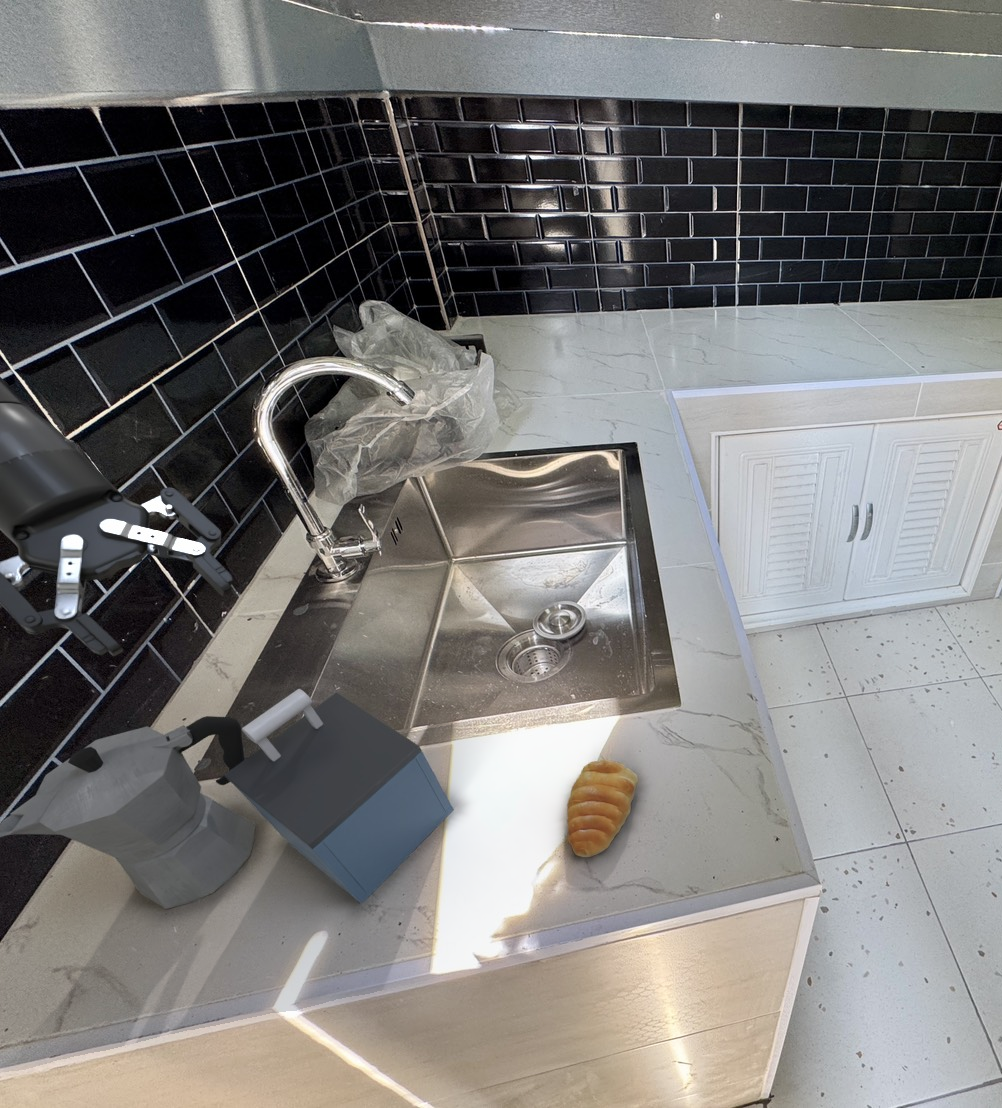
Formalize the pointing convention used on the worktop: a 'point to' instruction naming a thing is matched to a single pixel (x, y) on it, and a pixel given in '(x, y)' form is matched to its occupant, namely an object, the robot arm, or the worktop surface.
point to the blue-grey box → (377, 830)
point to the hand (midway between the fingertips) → (175, 620)
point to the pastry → (599, 806)
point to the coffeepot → (146, 810)
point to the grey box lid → (319, 763)
